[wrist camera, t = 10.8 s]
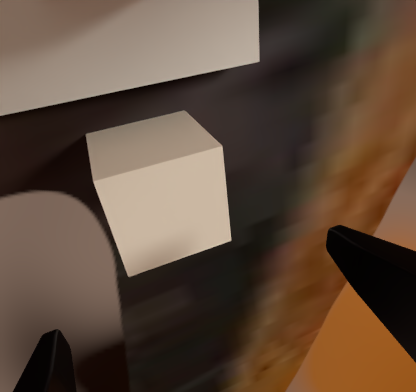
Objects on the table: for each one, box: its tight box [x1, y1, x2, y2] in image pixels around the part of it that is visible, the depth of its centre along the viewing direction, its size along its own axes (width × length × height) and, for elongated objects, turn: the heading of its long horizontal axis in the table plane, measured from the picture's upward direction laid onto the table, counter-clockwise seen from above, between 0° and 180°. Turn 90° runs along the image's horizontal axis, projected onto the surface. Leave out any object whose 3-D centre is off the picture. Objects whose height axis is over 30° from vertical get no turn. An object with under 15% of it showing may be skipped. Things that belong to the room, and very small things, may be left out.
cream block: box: [86, 111, 231, 277], centre depth 15 cm, size 5×5×5 cm
